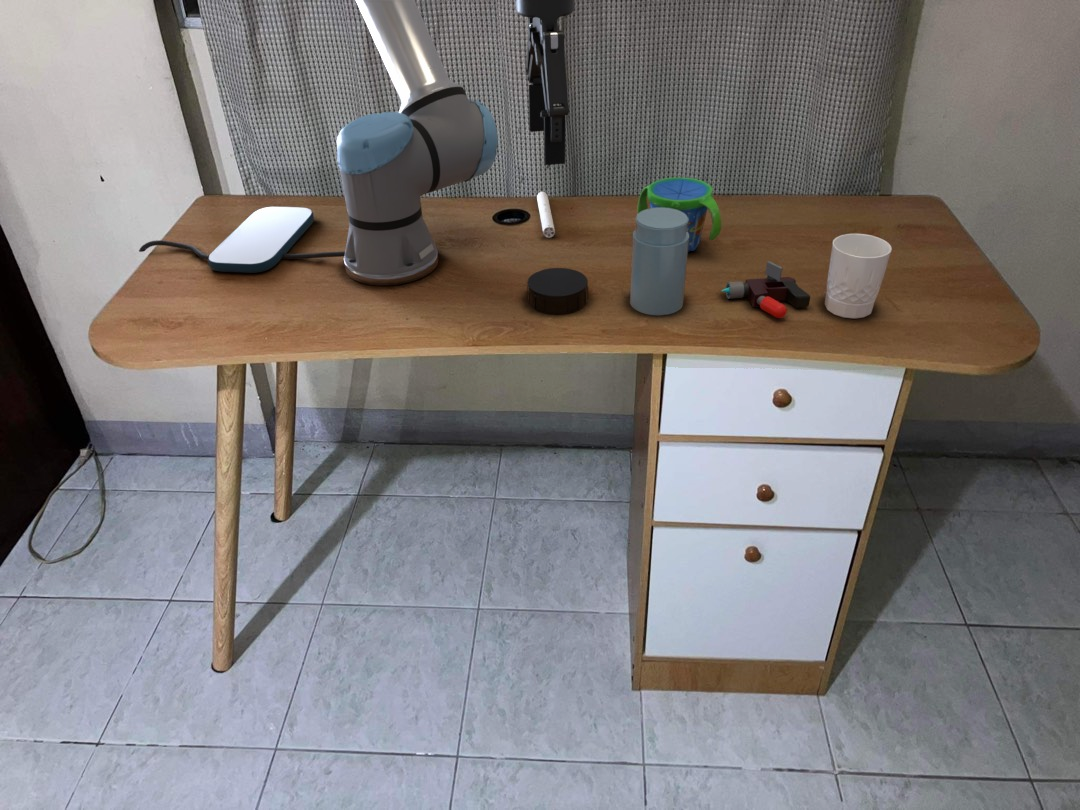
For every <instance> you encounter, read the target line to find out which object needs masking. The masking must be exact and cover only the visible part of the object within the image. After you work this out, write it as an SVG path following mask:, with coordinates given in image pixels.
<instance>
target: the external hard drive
mask: <svg viewBox="0 0 1080 810" xmlns="http://www.w3.org/2000/svg"><path fill="white" fill-rule="evenodd" d="M314 220H315V216H314V212H313V210H312V209H311V208H308V207H301V206H300V207H297V206H266V207H262V208H259V209H257V210H255V211H254V212H252V213H251V214H250V215H249V216H248V217H247V218H245V220H244V221H242V222H241V223H240V224H239V226H237V228H235V230H233V231H232V232H230V234H228V236H227V237H226V238H225V239H224V240H223V241H222V242H221V243H220V244H219V245H217V246H216V247H215V248H214V249H213V250H212V251H211V253H210V254H208V255H209V257H208V260H207V262H208V265H209V267H210V268H211V269H212V270H213V271H215V272H221V273H223V272H224V273H225V272H226V273H246V274H247V273H248V274H249V273H250V274H251V273H252V274H253V273H256V274H257V273H263V272H266V271H268V270H270V269H272V268H273V267H275V266H277V264H278V263H279V262H280V261H281V260H282V259H281V258H282V257H283V254H288V252H289V251H290V250H291V249H292V247H293V246H294V245H295V244H296V243H297V242H298V241H299V239H300V238H301V237H302V236H303V235H304V234H305V233H306V231H307V230H308V229H309V228H310V227H311V225H312V224H313V223H314Z"/></svg>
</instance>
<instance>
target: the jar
mask: <svg viewBox="0 0 1080 810" xmlns="http://www.w3.org/2000/svg"><path fill="white" fill-rule="evenodd" d="M688 219H689V218H688V217H687V215H686V214H685V213H683V212H681V211H679V210H676V209H671V208H650V207H649V208H648V209H646V210H643V211H641V212H639V213H638V212H637V214H636V216H635V229H634V231H633V232H632V246H631V266H630V267H631V268H630V292H629V304H630V306H631V307H632V308H633V309H634V310H635V311H637V312H639V313H641V314H645V315H648V316H649V315H650V316H667V315H671V314H674V313H676V312H678V311H680V310H681V309H682V308H683V306H684V301H685V291H686V290H685V288H686V278H687V267H688V257H689V256H688V255H689V252H688V244H689V233H688V232H687V223H688Z"/></svg>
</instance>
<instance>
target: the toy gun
mask: <svg viewBox="0 0 1080 810" xmlns="http://www.w3.org/2000/svg"><path fill="white" fill-rule="evenodd" d="M782 273H783V267H782V266H780V265H778V264H776V263H774V262H772V261H770V260H768V261H766V267H765V275H766V277H765V278H762V277H761V278H748V279H747V278H746V279H745V281H744V282H743V281H742V280H741V281H727V282H726V284H725V288H724V289H722V290H720V291H721V292H725V295H726V298H727V299H728V300H729V299H731V300H732V299H743V298H744V297H746V298H747V299H748V301H749V303H750V304H751V306H752V307H753V309H754V308H758V307H760V309H761V310H763V311H764V312H766V313H768V314H770V315H771V316H773V317H774V318H777V319H782V318H784V317H785V316H786V315H787V311H788V309H787V307H786V305H785V304H783V303H781V302H782V301H787V302H788V303H789V304H791V305H792V306H793V307H795V308H808V307H809V306H810V302H811V295H810V294H809V293H808V292H806V291H805V290H804V289H802V287H800V286H799V285H798V284H797V281H796V279H795V278H793V277H790V276H782V275H783V274H782Z"/></svg>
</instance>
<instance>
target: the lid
mask: <svg viewBox="0 0 1080 810" xmlns="http://www.w3.org/2000/svg"><path fill="white" fill-rule="evenodd" d="M526 282H527V285H526V289H527V290H526V293H527V302H528V305H529V306H530V307H531V308H532V309H534V310H535V311H537V312H540V313H543V314H547V315H568V314H572V313H574V312H577V311H580V310H581V309H583V308H585V306H586V305H587V303H588V301H589V280H588V278H587V276H586V275H585V274H584V273H582V272H580V271H578V270H576V269H573V268H566V267H550V268H544V269H541V270H539V271H535V272H534V273H533V274H531V275H530V276H529V277H528V279H527V281H526Z"/></svg>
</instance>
